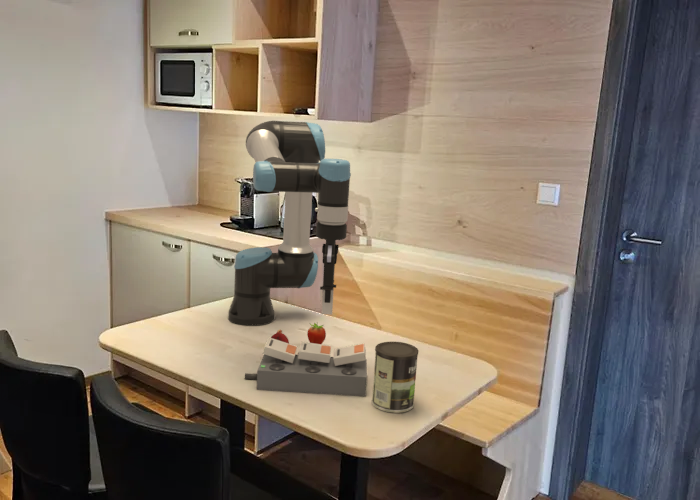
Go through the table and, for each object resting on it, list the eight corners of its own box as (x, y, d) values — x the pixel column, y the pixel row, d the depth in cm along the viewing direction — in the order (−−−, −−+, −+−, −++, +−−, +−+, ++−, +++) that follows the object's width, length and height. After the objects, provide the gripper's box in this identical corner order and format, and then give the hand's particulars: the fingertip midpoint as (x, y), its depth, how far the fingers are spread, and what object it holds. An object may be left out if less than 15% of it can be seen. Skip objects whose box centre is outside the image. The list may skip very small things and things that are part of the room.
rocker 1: (266, 343, 167) (268, 336, 166) (295, 353, 167) (297, 345, 167) (262, 353, 160) (264, 346, 159) (292, 363, 160) (295, 355, 160)
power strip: (249, 369, 168) (249, 348, 167) (365, 376, 168) (366, 355, 167) (240, 388, 157) (241, 365, 155) (365, 396, 156) (367, 373, 155)
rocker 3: (336, 355, 167) (334, 348, 167) (365, 350, 167) (364, 342, 166) (335, 365, 160) (333, 358, 160) (365, 360, 160) (364, 352, 159)
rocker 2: (300, 348, 167) (301, 341, 166) (330, 352, 167) (331, 345, 166) (297, 358, 160) (299, 350, 160) (329, 363, 160) (330, 355, 160)
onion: (285, 362, 175) (286, 334, 173) (265, 359, 176) (266, 332, 174) (291, 354, 180) (292, 328, 179) (271, 352, 181) (272, 325, 180)
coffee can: (417, 398, 157) (421, 344, 154) (409, 416, 147) (414, 359, 144) (376, 391, 160) (380, 338, 157) (366, 408, 150) (370, 352, 147)
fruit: (323, 344, 190) (324, 319, 188) (326, 350, 185) (328, 324, 183) (305, 344, 189) (306, 319, 187) (308, 351, 184) (309, 325, 182)
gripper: (318, 217, 162) (314, 304, 167) (314, 225, 150) (310, 320, 155) (347, 218, 162) (342, 306, 167) (346, 227, 150) (340, 322, 155)
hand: (326, 313), depth 161 cm, fingers closed
